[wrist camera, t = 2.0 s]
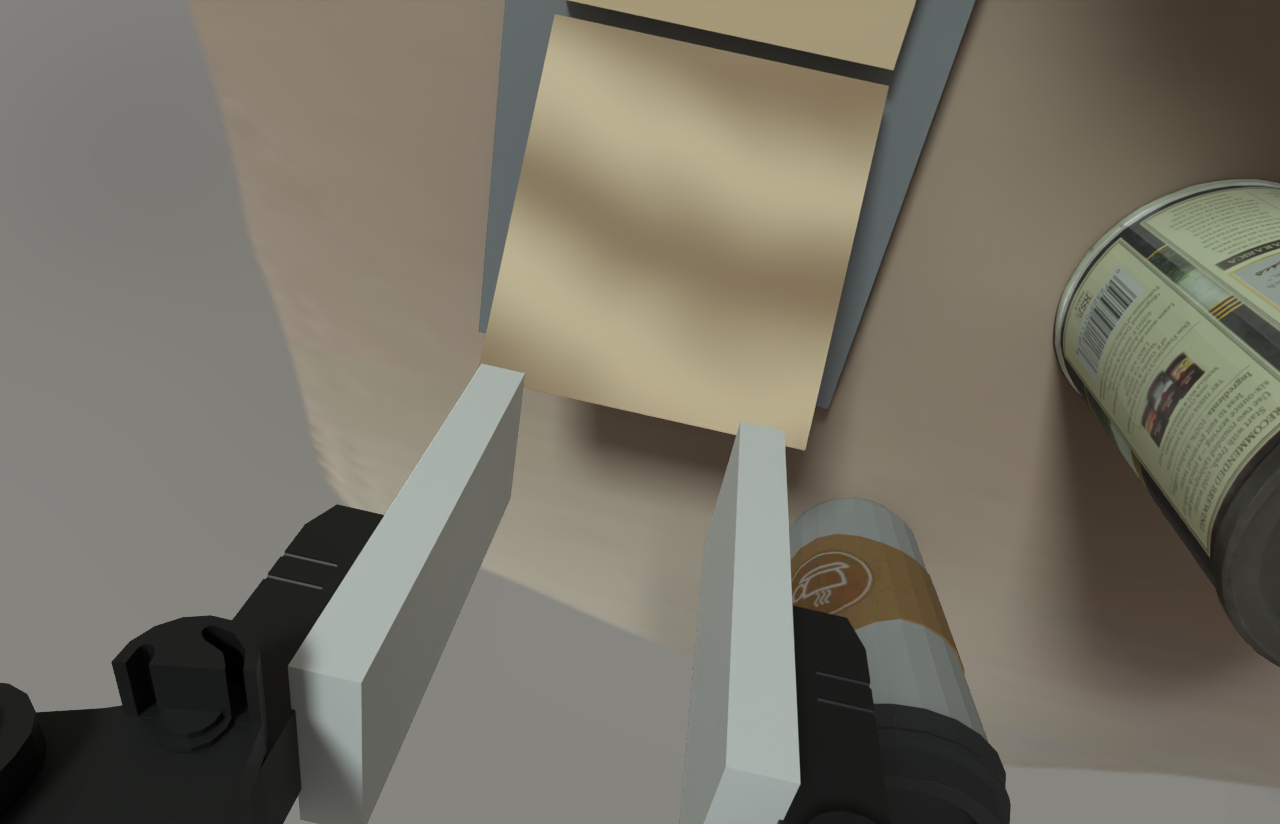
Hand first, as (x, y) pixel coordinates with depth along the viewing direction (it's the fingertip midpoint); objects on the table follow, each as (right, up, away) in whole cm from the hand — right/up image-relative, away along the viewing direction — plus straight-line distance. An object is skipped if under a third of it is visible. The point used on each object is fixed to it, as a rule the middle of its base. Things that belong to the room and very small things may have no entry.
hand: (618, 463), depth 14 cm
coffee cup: (+10, -6, +25) cm, 28 cm away
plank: (+2, +7, +13) cm, 15 cm away
